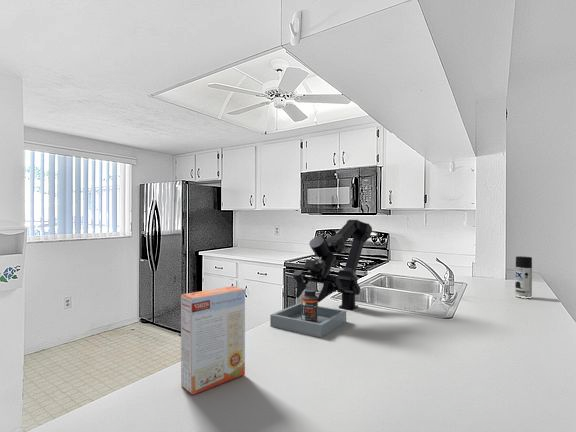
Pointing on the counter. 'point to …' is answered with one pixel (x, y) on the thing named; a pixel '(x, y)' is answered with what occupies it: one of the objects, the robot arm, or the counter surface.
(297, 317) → the gray square tray
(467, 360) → the counter surface
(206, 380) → the cracker box
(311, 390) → the counter surface
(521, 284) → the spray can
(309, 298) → the supplement bottle
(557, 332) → the counter surface
